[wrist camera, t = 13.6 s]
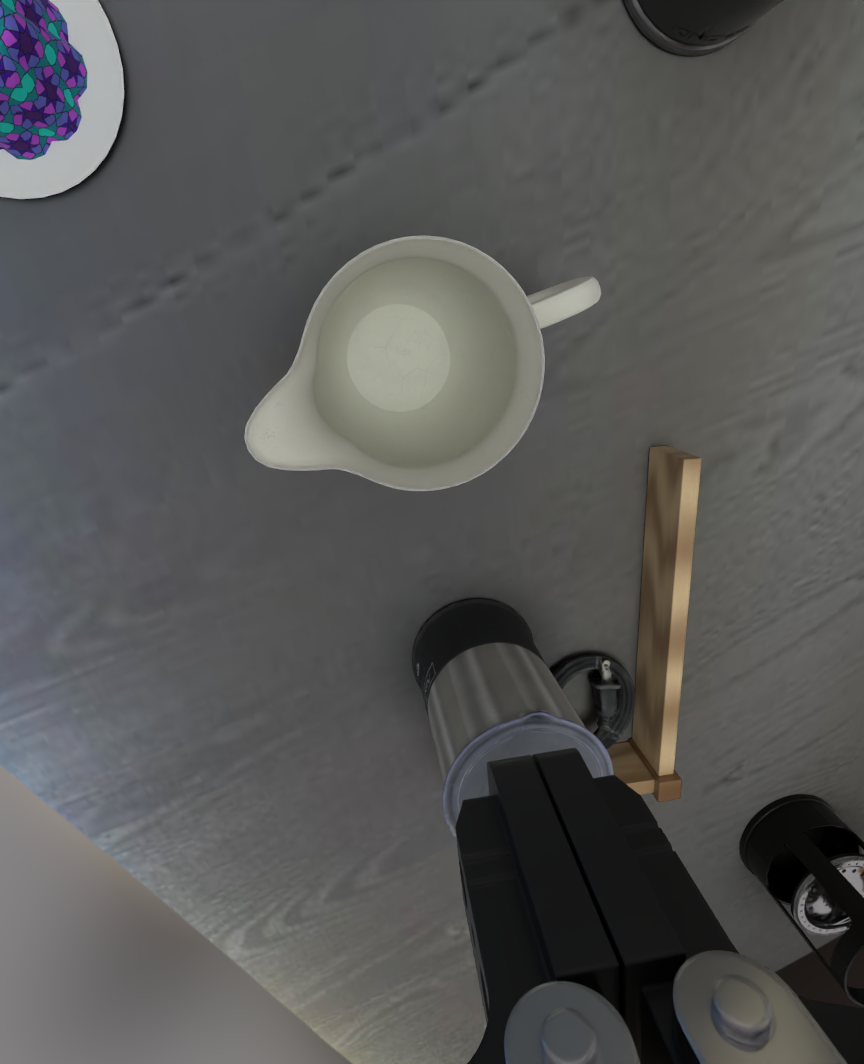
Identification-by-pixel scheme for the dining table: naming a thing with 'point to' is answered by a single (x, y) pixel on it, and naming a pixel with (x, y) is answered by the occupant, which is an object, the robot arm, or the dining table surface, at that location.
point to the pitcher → (414, 367)
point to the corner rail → (661, 625)
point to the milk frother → (506, 698)
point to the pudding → (56, 94)
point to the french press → (813, 875)
